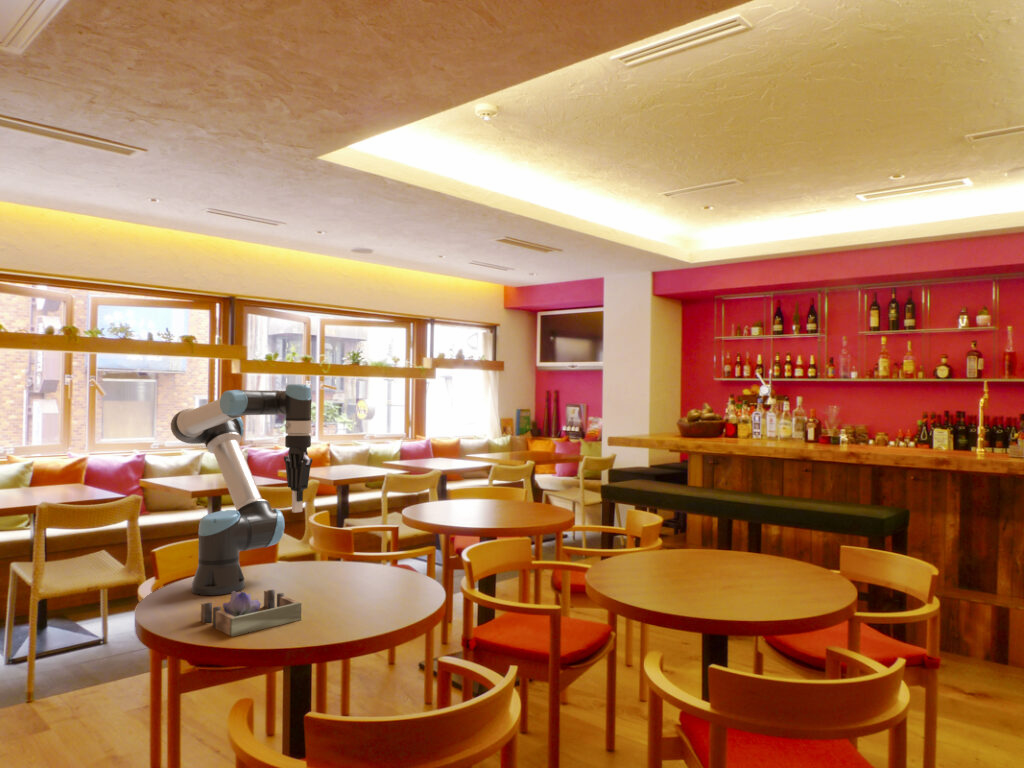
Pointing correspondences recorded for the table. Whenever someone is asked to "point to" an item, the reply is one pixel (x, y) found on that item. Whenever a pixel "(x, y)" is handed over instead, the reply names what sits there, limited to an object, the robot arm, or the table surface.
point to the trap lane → (254, 615)
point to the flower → (241, 604)
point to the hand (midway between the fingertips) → (297, 511)
